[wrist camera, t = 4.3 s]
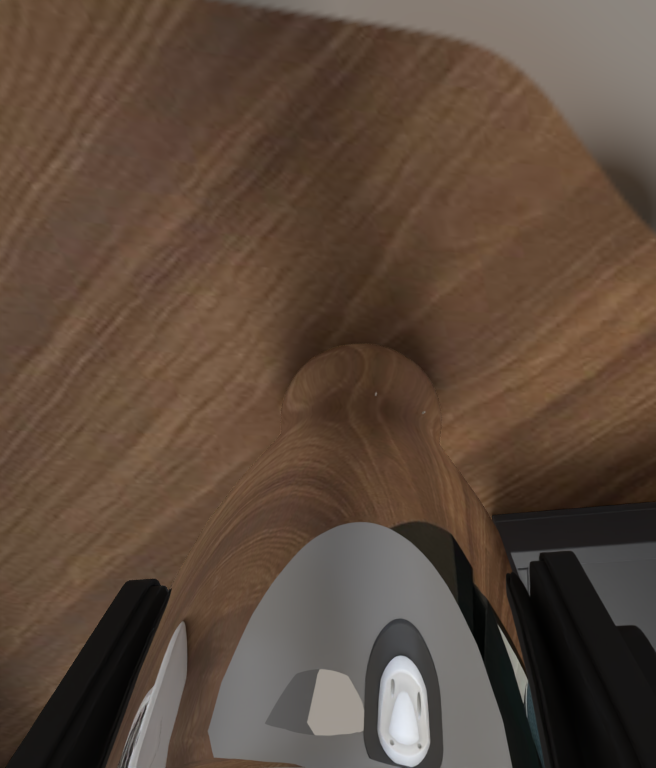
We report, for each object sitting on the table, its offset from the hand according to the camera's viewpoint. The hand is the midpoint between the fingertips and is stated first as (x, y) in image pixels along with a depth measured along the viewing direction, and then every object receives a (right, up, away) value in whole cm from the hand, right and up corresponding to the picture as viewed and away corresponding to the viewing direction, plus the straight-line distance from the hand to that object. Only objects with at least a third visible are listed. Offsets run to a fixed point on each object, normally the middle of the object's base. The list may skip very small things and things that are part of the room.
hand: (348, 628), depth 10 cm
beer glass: (+1, +4, +10) cm, 10 cm away
